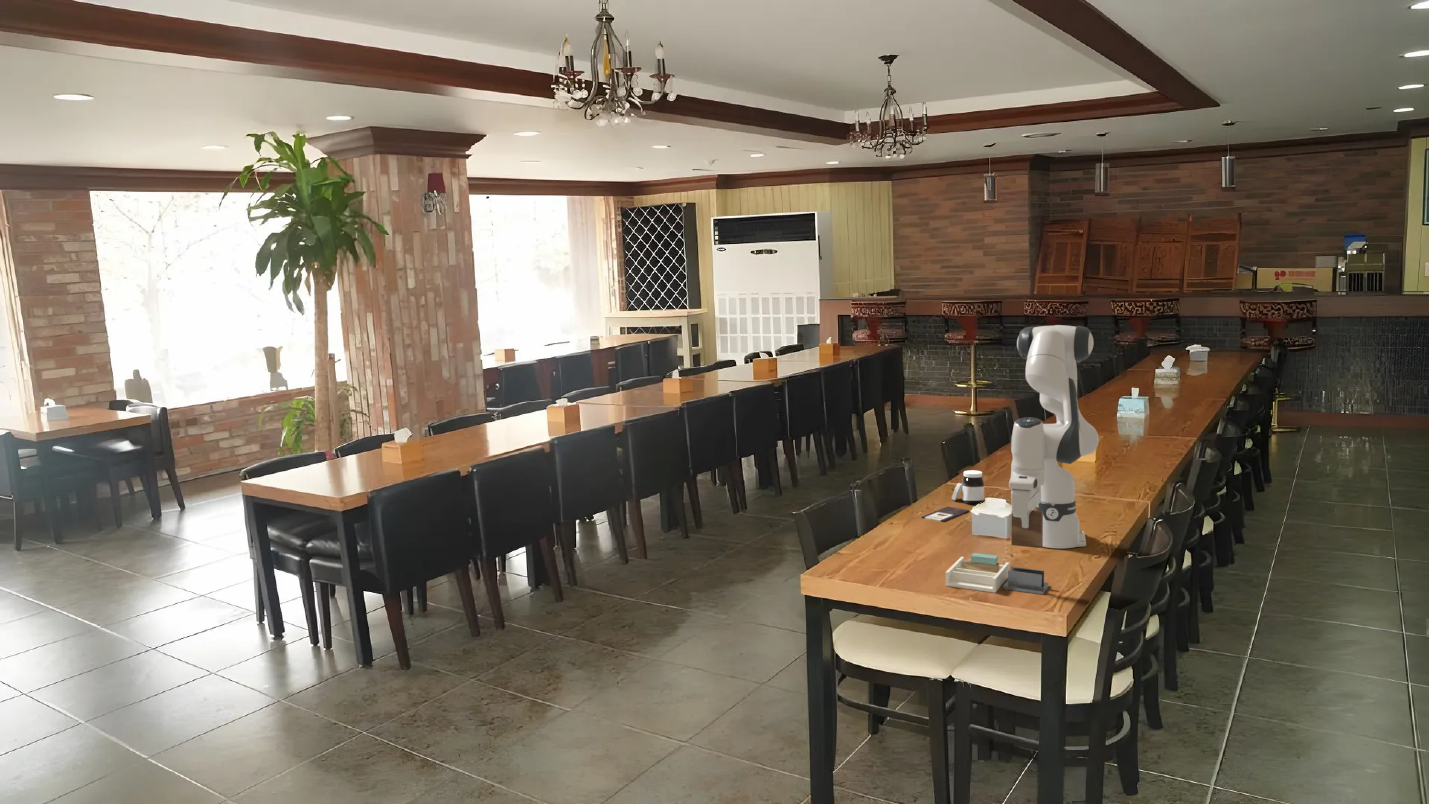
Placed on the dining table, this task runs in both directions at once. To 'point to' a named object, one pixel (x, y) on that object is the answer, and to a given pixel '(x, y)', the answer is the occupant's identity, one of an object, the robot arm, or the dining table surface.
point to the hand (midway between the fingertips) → (1027, 525)
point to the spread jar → (970, 487)
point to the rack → (975, 577)
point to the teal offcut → (984, 559)
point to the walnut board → (1028, 531)
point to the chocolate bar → (945, 514)
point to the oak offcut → (982, 567)
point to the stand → (1026, 580)
